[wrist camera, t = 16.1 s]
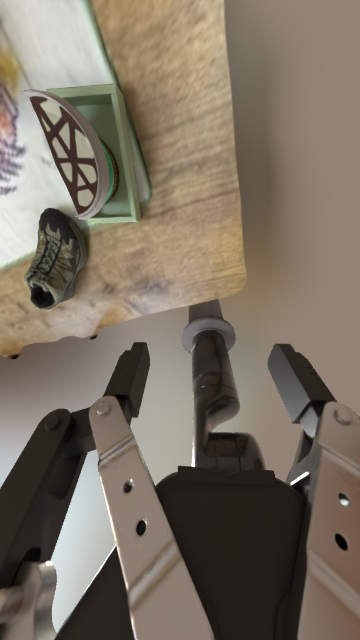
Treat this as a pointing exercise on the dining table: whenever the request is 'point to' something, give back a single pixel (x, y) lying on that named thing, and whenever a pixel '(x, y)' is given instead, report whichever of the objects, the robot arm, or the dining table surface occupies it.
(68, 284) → the hiking shoe
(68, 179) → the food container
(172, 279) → the dining table surface
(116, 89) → the holder
